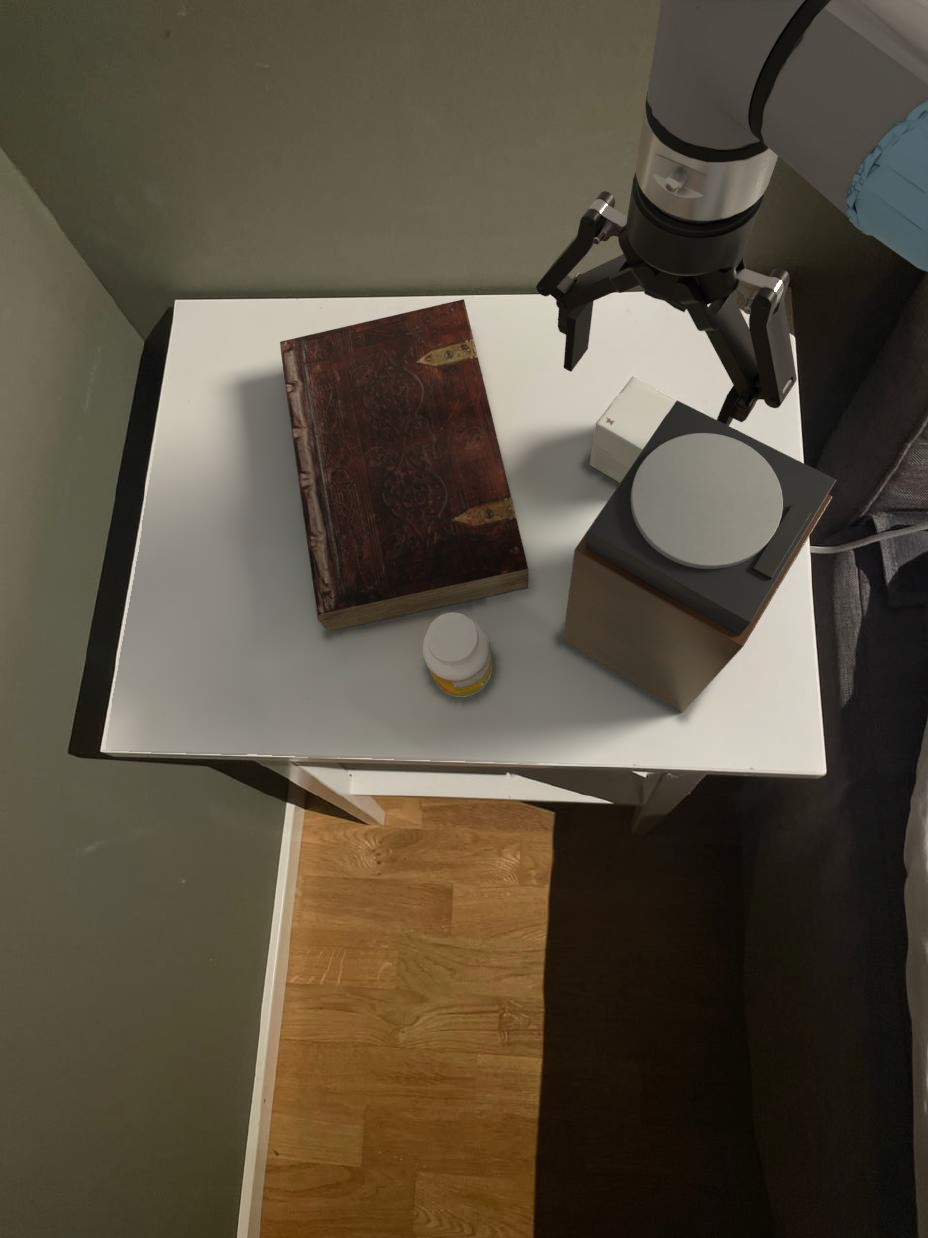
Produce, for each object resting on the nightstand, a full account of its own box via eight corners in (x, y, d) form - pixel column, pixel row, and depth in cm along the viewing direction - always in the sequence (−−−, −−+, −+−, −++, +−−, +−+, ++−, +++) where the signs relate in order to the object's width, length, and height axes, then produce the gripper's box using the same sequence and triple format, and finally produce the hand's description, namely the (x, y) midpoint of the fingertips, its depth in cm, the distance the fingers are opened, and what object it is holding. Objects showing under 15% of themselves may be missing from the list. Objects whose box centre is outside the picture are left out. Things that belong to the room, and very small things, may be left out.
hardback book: (290, 371, 81) (275, 339, 76) (467, 333, 80) (464, 298, 76) (327, 631, 71) (313, 614, 66) (528, 589, 71) (528, 568, 66)
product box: (641, 498, 73) (653, 458, 66) (587, 465, 74) (593, 423, 68) (677, 450, 74) (692, 406, 67) (623, 419, 76) (632, 373, 69)
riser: (750, 601, 69) (833, 496, 50) (682, 713, 66) (743, 646, 47) (631, 535, 72) (667, 412, 53) (562, 640, 69) (574, 550, 50)
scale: (822, 498, 50) (840, 474, 47) (739, 636, 48) (753, 620, 45) (670, 421, 53) (678, 394, 50) (584, 547, 50) (588, 527, 47)
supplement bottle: (424, 651, 70) (408, 616, 61) (480, 631, 70) (473, 593, 61) (443, 707, 68) (429, 680, 59) (501, 686, 68) (496, 656, 59)
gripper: (483, 140, 47) (495, 361, 67) (877, 317, 41) (761, 500, 61) (550, 60, 48) (543, 299, 68) (938, 218, 43) (805, 428, 63)
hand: (645, 394), depth 65 cm, fingers open, 13 cm apart
